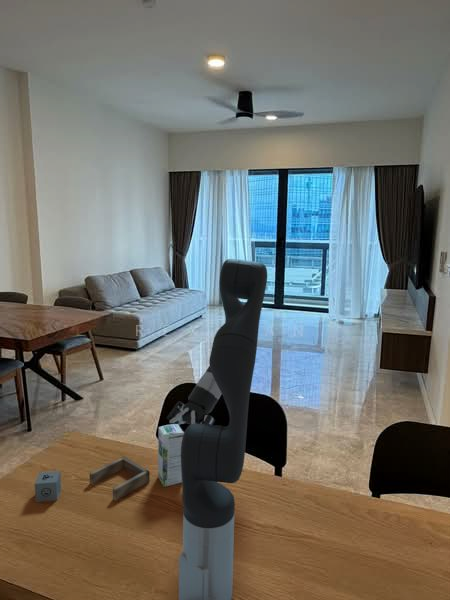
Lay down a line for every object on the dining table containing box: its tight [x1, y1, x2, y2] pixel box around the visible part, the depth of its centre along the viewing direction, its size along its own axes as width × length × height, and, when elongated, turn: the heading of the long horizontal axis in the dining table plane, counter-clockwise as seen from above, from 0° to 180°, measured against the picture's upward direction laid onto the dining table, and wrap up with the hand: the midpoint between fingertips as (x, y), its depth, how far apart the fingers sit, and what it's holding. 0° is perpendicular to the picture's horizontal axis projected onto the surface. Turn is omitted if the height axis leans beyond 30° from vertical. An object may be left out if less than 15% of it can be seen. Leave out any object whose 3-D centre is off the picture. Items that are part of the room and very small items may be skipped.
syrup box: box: [157, 424, 185, 488], centre depth 115 cm, size 6×6×14 cm
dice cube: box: [34, 470, 62, 503], centre depth 108 cm, size 5×5×5 cm
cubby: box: [89, 456, 151, 502], centre depth 114 cm, size 11×11×3 cm
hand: (175, 443), depth 115 cm, fingers open, 8 cm apart
